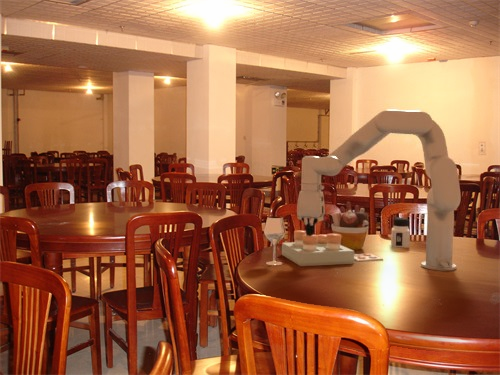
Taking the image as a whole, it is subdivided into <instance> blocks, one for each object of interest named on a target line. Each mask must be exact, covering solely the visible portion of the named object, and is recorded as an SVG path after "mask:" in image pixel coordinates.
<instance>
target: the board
mask: <svg viewBox="0 0 500 375" xmlns="http://www.w3.org/2000/svg"><path fill="white" fill-rule="evenodd" d="M354 254H355V250H351V249H349V248H346V247H344V246H342V245H340V250H328V249H327V245H324V246H319V245H317V251H304V250H303V246H297V247H296V246H294V242H293V241H291V242H282V243H281V255H282V256H284V257H285V258H287V259H288V260H290V261H291V262H293V263H295V264H297V265H298V266H299V267H307V266H308V267H309V266H311V267H312V266H313V267H314V266H331V265H332V266H333V265H352V264H355V260H354Z"/></svg>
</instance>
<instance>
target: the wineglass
mask: <svg viewBox="0 0 500 375" xmlns="http://www.w3.org/2000/svg"><path fill="white" fill-rule="evenodd" d="M263 233H264V236H265V237H266V239H268V241H269V242H271V244H272V246H273V251H272V252H273V255H272V257H273V258H272V261H267V262H266V263H265V265H266V266H267V265H268V266H273V267H274V266H275V267H276V266H277V267H278V266H282V265H283V262H281V261H276V250H277V249H276V246H277V244H278V243H279V242H281V241H282V240H283V238H284V237H285V236H286V233H287V232H286V226H285V222H284V217H283V216H278V215H272V216H267V218H266V222H265V226H264V229H263Z"/></svg>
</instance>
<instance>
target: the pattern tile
mask: <svg viewBox="0 0 500 375" xmlns="http://www.w3.org/2000/svg"><path fill="white" fill-rule="evenodd" d="M354 261H356V262H374V261H376V262H377V261H378V262H379V261H384V258H382V257H379V256H377V255H374V254H373V253H354Z"/></svg>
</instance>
